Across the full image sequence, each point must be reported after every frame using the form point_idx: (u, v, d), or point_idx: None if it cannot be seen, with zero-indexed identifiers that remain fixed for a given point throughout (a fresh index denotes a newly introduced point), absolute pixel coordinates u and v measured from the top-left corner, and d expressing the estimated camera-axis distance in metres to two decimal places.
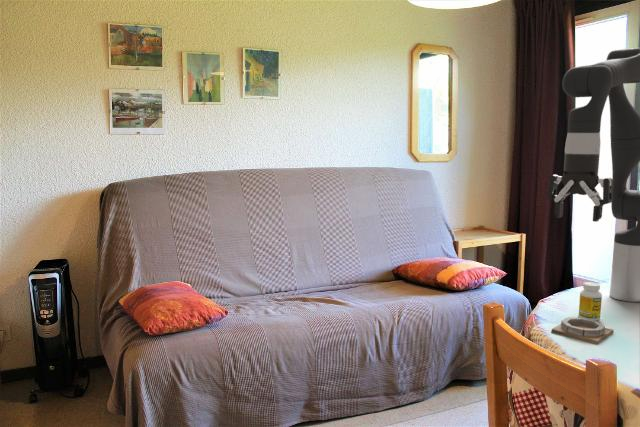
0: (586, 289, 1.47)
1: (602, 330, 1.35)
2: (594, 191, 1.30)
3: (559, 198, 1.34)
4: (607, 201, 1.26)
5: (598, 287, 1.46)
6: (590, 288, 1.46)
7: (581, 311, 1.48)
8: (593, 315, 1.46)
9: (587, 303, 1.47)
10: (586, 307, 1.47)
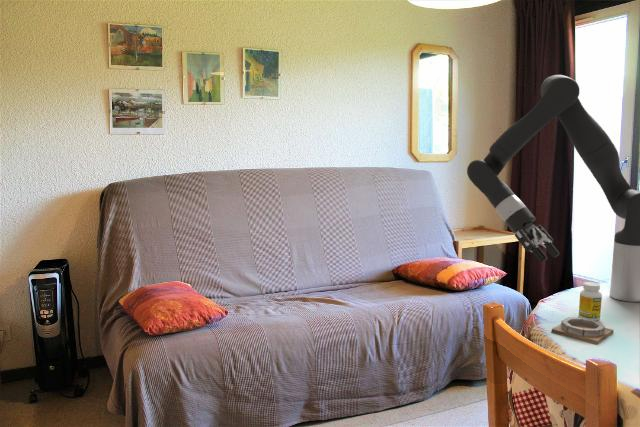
0: (586, 289, 1.47)
1: (602, 330, 1.35)
2: None
3: None
4: (525, 249, 1.53)
5: (598, 287, 1.46)
6: (590, 288, 1.46)
7: (581, 311, 1.48)
8: (593, 315, 1.46)
9: (587, 303, 1.47)
10: (586, 307, 1.47)
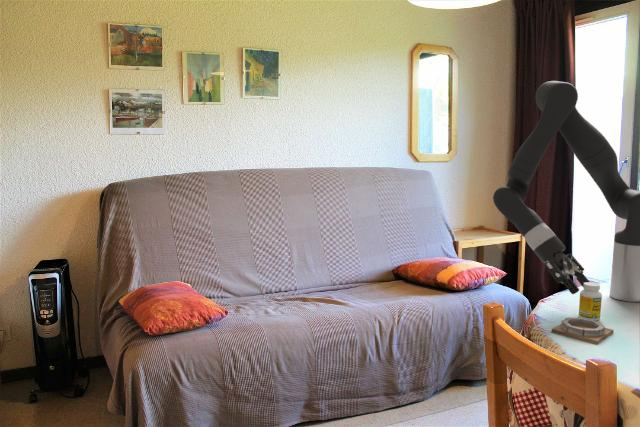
0: (586, 289, 1.47)
1: (602, 330, 1.35)
2: None
3: None
4: (556, 281, 1.48)
5: (598, 287, 1.46)
6: (590, 288, 1.46)
7: (581, 311, 1.48)
8: (593, 315, 1.46)
9: (587, 303, 1.47)
10: (586, 307, 1.47)
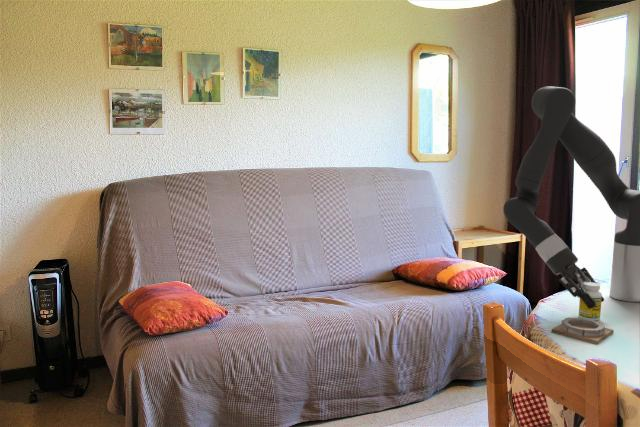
0: (586, 289, 1.47)
1: (602, 330, 1.35)
2: None
3: None
4: (573, 295, 1.46)
5: (598, 287, 1.46)
6: (590, 288, 1.46)
7: (581, 311, 1.48)
8: (593, 315, 1.46)
9: None
10: (586, 307, 1.47)
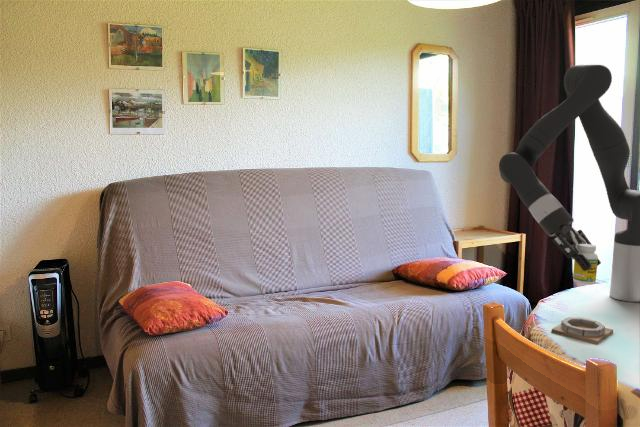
0: (581, 250, 1.38)
1: (602, 330, 1.35)
2: None
3: None
4: (567, 256, 1.37)
5: (594, 248, 1.37)
6: (585, 249, 1.37)
7: (575, 274, 1.39)
8: (588, 278, 1.37)
9: None
10: (581, 269, 1.38)
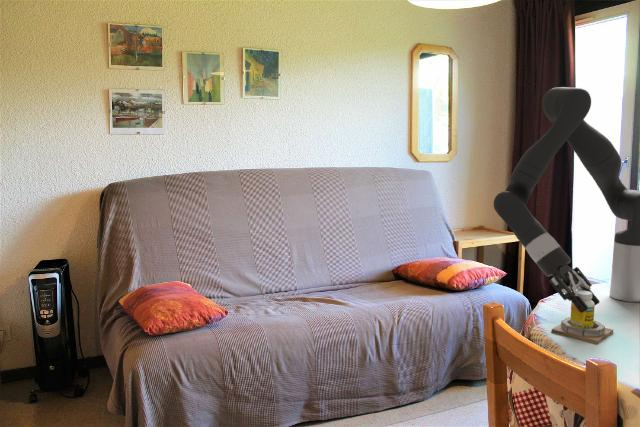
0: None
1: (602, 330, 1.35)
2: None
3: None
4: (563, 298, 1.34)
5: (590, 296, 1.35)
6: (582, 297, 1.35)
7: (573, 322, 1.37)
8: (585, 326, 1.35)
9: (579, 313, 1.35)
10: (578, 317, 1.36)
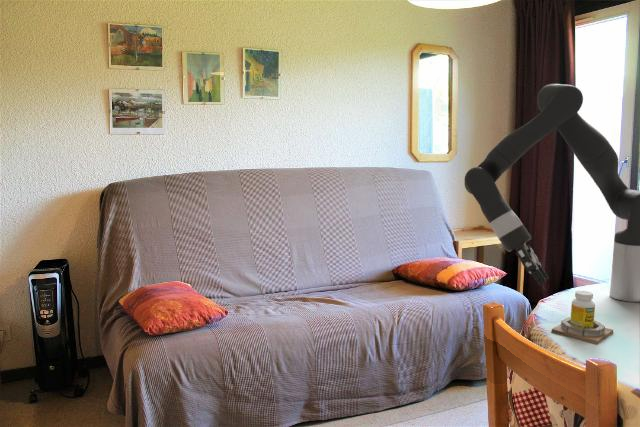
0: (578, 298, 1.36)
1: (602, 330, 1.35)
2: (532, 258, 1.45)
3: None
4: (526, 270, 1.42)
5: (591, 296, 1.35)
6: (583, 298, 1.35)
7: (573, 322, 1.37)
8: (586, 326, 1.35)
9: (580, 313, 1.35)
10: (578, 318, 1.36)
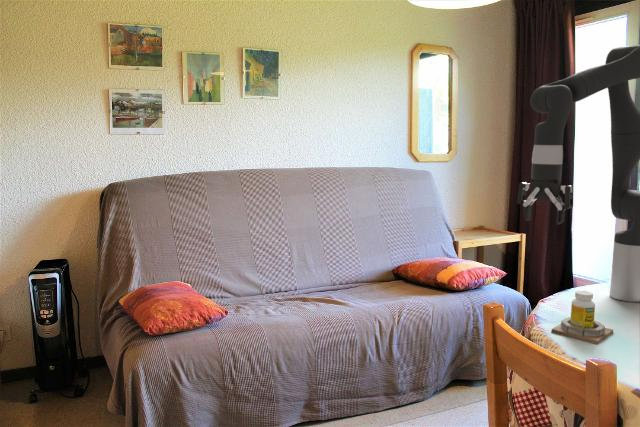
0: (578, 298, 1.36)
1: (602, 330, 1.35)
2: (558, 197, 1.45)
3: (527, 203, 1.49)
4: (568, 206, 1.41)
5: (591, 296, 1.35)
6: (583, 298, 1.35)
7: (573, 322, 1.37)
8: (586, 326, 1.35)
9: (580, 313, 1.35)
10: (578, 318, 1.36)
